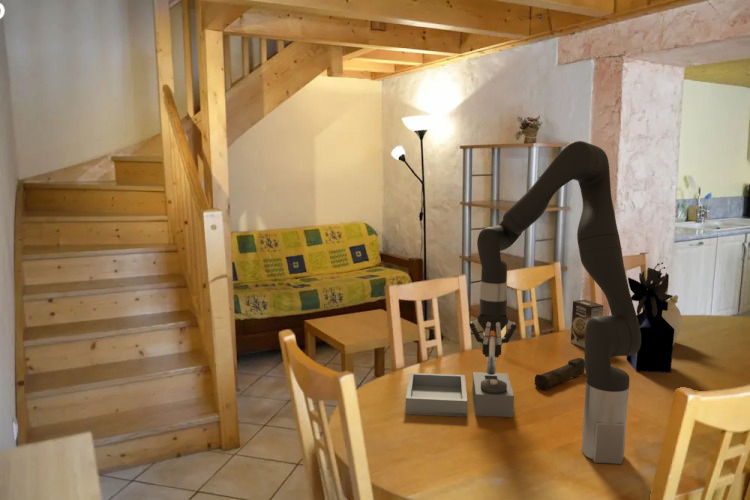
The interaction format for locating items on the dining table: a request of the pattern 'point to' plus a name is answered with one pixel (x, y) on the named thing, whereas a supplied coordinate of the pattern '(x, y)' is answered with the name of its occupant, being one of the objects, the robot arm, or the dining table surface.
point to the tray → (436, 395)
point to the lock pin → (491, 353)
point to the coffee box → (583, 319)
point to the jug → (672, 315)
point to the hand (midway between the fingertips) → (491, 355)
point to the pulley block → (492, 394)
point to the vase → (652, 323)
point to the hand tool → (560, 374)
